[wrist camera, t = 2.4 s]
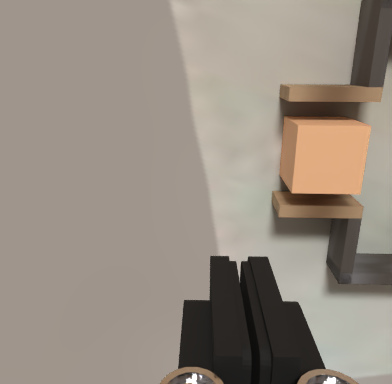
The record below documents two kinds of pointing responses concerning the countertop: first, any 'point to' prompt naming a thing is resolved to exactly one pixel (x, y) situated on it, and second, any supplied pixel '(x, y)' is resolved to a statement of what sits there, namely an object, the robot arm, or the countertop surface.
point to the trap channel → (344, 203)
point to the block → (323, 154)
